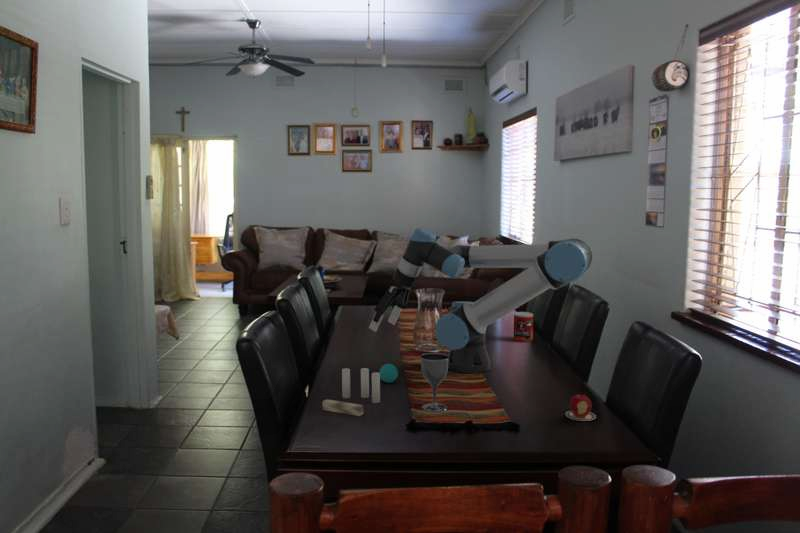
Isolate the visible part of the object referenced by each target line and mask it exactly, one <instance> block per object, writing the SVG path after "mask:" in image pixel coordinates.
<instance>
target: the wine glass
mask: <svg viewBox="0 0 800 533" xmlns="http://www.w3.org/2000/svg"><path fill="white" fill-rule="evenodd" d="M448 355H449V354H446V353H442V352H427V353H426V352H425V353H423V354H421V355H420V369H421V374H422V376H423V378H424V379H425V380H426V381H427V383H428V384H429V385H430V387H431V388H432V389H431V390H432V398H433V399H432V400H433V401H432V402H431V403H426V405H425V404H423V405H422V407H421V409H422V408H423V409H424V411H425V410H426V412H430V413H431V412H432V413H438V412H439V413H440V412H444V411H446V410H447V409H448V406H447V405H445V404H442V403H437V392H438V387H439V385H440V384H441V383H442V382H443V381H444V379H445V378H446V377H447V375H448V371H449V369H448V366H449V356H448ZM423 409H422V410H423Z"/></svg>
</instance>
